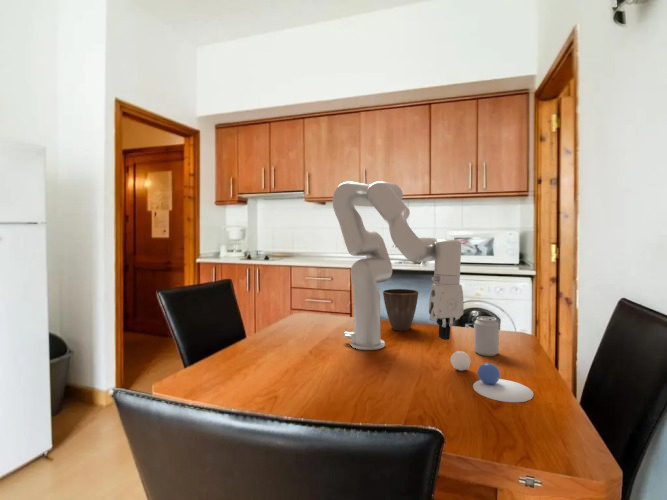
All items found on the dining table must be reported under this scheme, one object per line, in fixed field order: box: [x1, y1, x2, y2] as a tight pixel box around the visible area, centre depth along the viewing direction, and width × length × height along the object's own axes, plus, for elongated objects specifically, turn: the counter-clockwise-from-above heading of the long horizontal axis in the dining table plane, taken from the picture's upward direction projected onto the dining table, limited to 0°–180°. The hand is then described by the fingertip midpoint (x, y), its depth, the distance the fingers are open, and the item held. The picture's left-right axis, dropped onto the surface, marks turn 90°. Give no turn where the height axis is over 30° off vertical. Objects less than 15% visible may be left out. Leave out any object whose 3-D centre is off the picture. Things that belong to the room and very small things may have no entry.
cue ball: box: [450, 350, 471, 372], centre depth 109 cm, size 6×6×6 cm
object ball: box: [477, 362, 501, 384], centre depth 99 cm, size 6×6×6 cm
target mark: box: [472, 378, 534, 403], centre depth 95 cm, size 14×14×1 cm
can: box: [474, 315, 500, 357], centre depth 124 cm, size 8×8×12 cm
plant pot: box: [382, 288, 419, 331], centre depth 158 cm, size 15×15×16 cm
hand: (444, 338), depth 115 cm, fingers closed
